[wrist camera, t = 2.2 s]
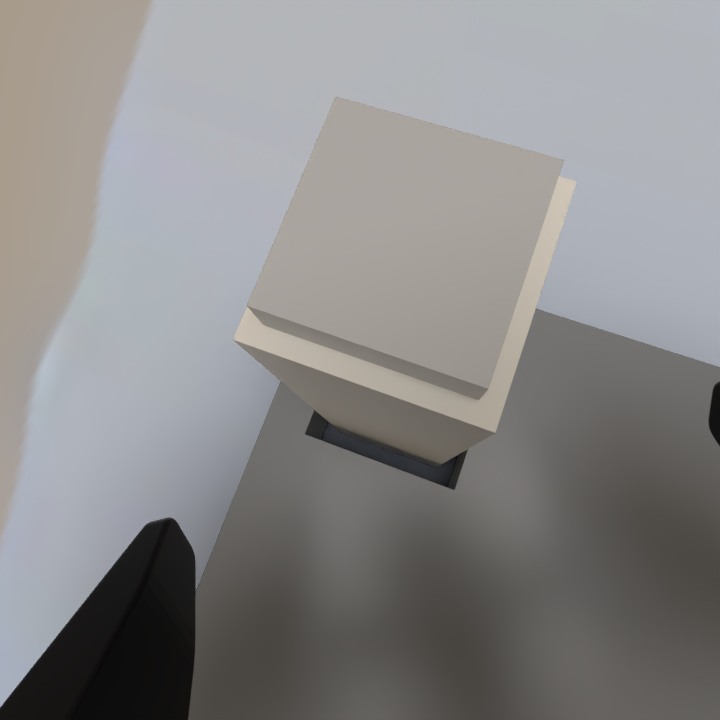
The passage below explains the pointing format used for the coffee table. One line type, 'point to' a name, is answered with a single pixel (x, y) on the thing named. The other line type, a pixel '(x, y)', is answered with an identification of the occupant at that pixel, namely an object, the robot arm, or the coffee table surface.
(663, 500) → the socket board
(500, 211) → the plug
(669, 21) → the coffee table surface
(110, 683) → the robot arm
